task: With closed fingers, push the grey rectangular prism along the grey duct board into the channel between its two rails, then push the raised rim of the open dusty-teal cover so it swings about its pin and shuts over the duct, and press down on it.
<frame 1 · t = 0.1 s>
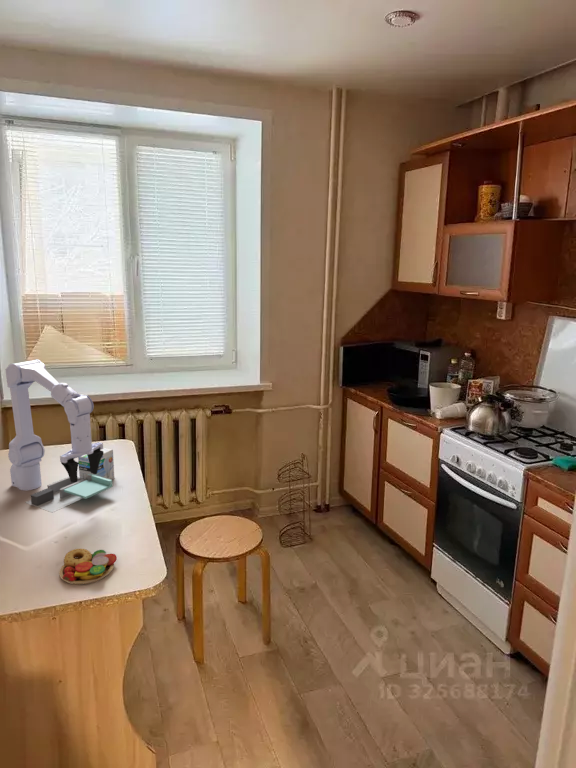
hand: (84, 477, 166), 10 cm above the countertop, fingers open, 7 cm apart
cover: (88, 485, 172), point 5 cm above the countertop, hinge at 90.0°
grey rectangular prism: (42, 501, 171), point 1 cm above the countertop, touching duct board
light bulb box: (97, 482, 188), on the countertop
duct board: (63, 499, 174), on the countertop
toy food set: (88, 572, 135), on the countertop
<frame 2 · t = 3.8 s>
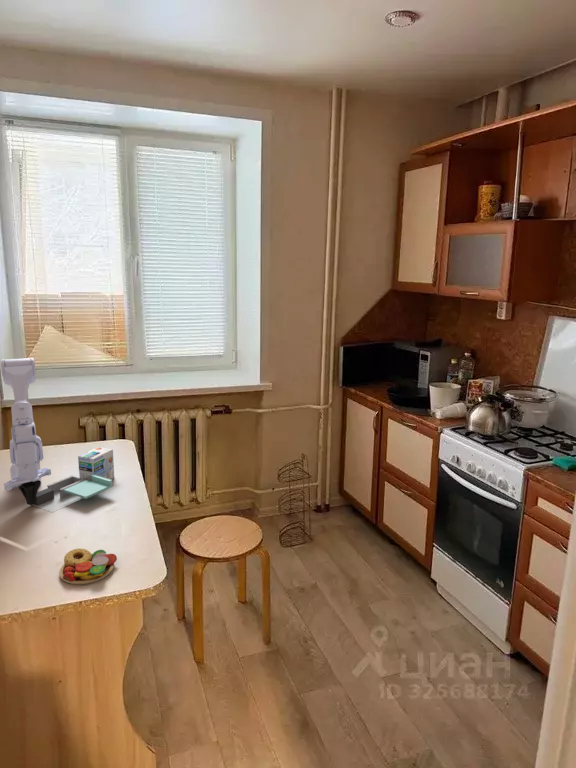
hand: (30, 503, 167), 2 cm above the countertop, fingers closed
grey rectangular prism: (43, 501, 171), point 1 cm above the countertop, touching duct board, gripper
everything else where it was.
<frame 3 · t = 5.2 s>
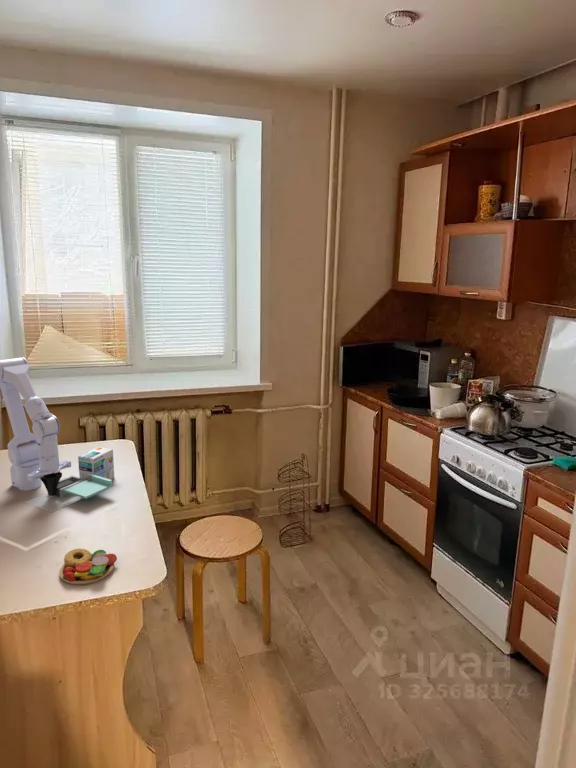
hand: (52, 494, 173), 2 cm above the countertop, fingers closed
grey rectangular prism: (63, 492, 177), point 1 cm above the countertop, touching duct board, gripper
everything else where it was.
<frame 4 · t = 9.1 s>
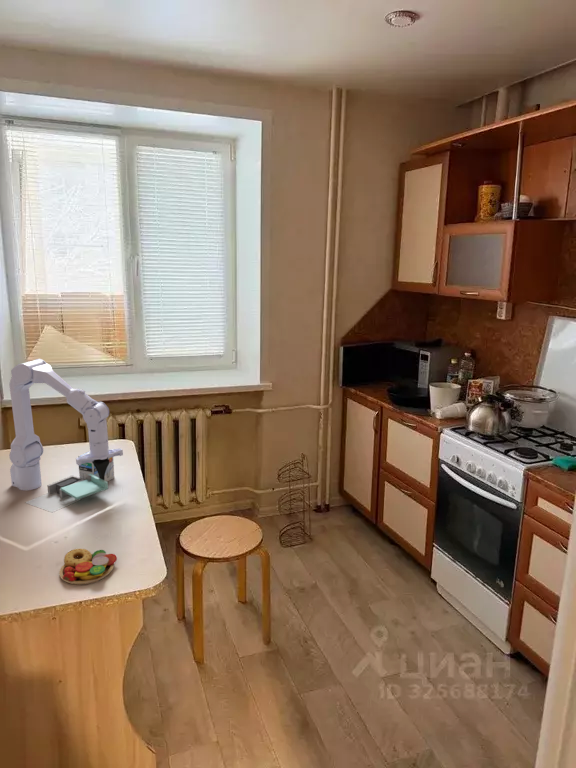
hand: (101, 480, 176), 5 cm above the countertop, fingers closed, pressing on cover
cover: (84, 485, 172), point 5 cm above the countertop, hinge at 78.3°, touching gripper
grey rectangular prism: (67, 490, 178), point 1 cm above the countertop, touching duct board
everything else where it was.
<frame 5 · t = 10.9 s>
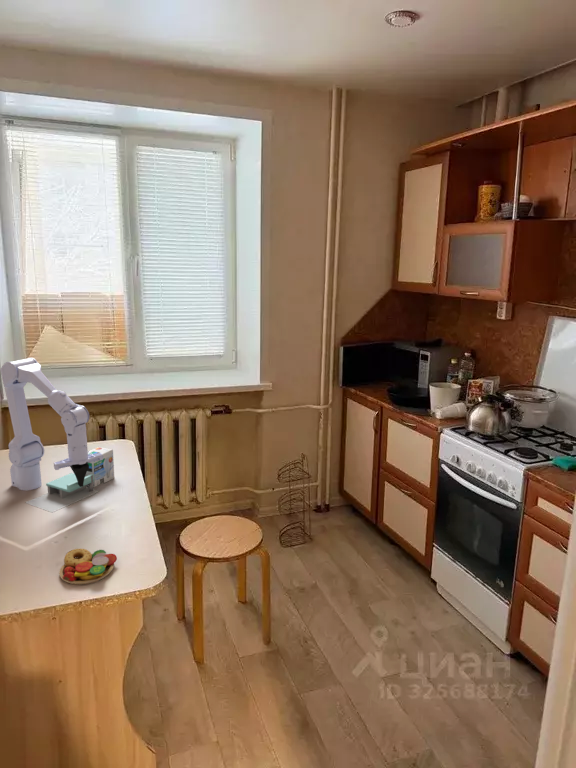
hand: (80, 485, 172), 5 cm above the countertop, fingers closed
cover: (70, 480, 176), point 5 cm above the countertop, hinge at 2.1°, touching gripper
everything else where it was.
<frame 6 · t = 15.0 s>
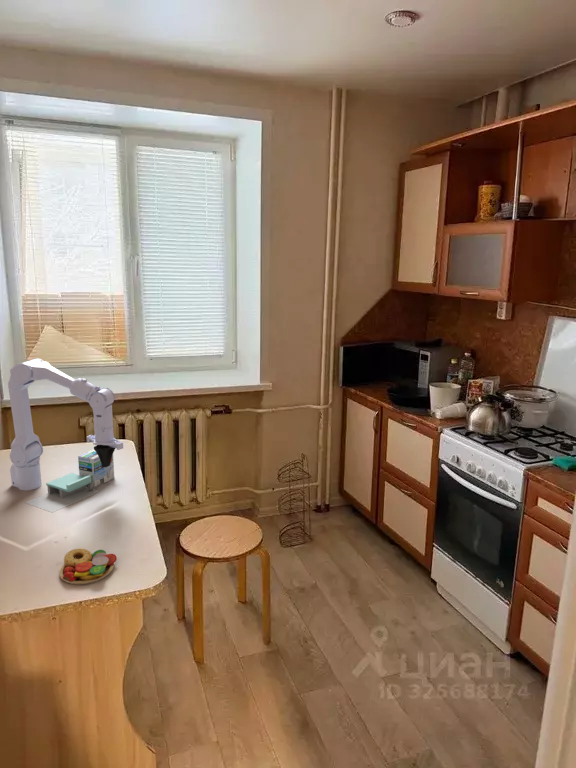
hand: (106, 466, 176), 10 cm above the countertop, fingers closed
cover: (70, 479, 176), point 5 cm above the countertop, hinge at 0.9°
everything else where it was.
at the end: grey rectangular prism 0.1 cm from the target spot, point 0.8 cm above the countertop; cover at +1° (first picture: +90°) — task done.
